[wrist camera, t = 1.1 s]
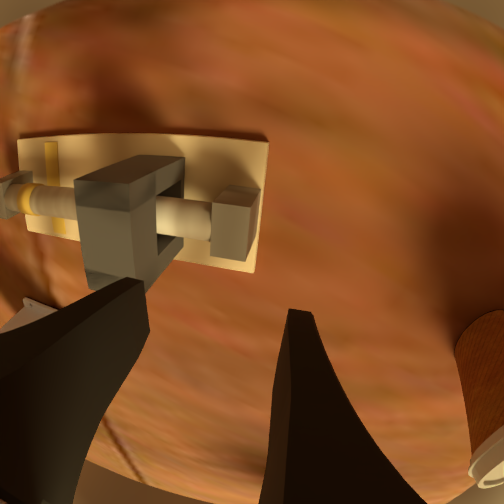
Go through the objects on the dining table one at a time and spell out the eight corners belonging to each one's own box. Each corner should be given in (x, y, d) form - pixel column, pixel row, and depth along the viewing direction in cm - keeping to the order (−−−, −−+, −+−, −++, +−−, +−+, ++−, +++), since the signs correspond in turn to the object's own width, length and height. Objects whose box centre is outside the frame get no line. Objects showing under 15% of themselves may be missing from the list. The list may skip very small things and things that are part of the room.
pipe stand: (32, 227, 22) (0, 247, 18) (22, 138, 18) (-15, 149, 15) (255, 268, 20) (242, 306, 16) (269, 142, 16) (258, 151, 13)
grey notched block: (141, 239, 19) (88, 288, 14) (139, 154, 17) (73, 179, 11) (183, 246, 19) (138, 302, 14) (185, 157, 16) (128, 183, 11)
